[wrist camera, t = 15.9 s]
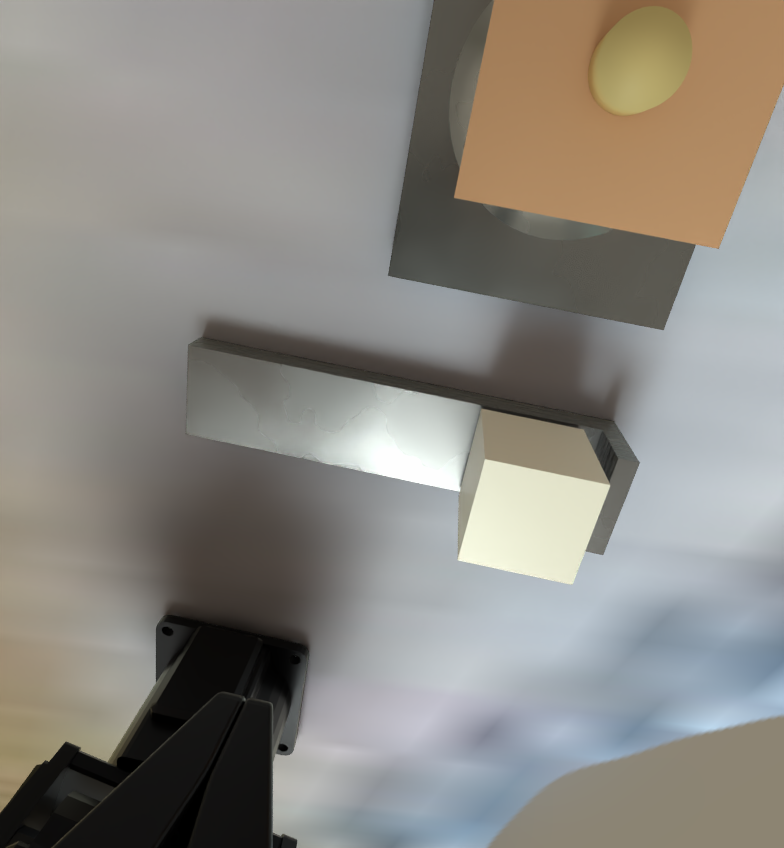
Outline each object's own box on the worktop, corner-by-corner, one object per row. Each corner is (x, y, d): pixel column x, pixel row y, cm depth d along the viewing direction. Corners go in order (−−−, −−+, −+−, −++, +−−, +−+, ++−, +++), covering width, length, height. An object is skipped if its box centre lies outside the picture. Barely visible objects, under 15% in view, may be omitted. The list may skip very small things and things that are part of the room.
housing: (641, 228, 15) (737, 253, 10) (456, 192, 15) (452, 198, 10) (718, 3, 13) (889, -118, 8) (503, -35, 13) (530, -179, 8)
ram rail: (583, 503, 20) (602, 554, 17) (198, 422, 20) (157, 459, 18) (613, 421, 19) (639, 462, 16) (201, 337, 19) (157, 363, 16)
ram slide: (553, 515, 19) (572, 584, 16) (458, 495, 19) (457, 560, 16) (583, 429, 17) (610, 485, 14) (481, 408, 18) (485, 459, 14)
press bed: (650, 320, 17) (664, 330, 16) (392, 269, 18) (387, 276, 16) (804, -99, 13) (837, -126, 12) (464, -155, 13) (464, -188, 12)
